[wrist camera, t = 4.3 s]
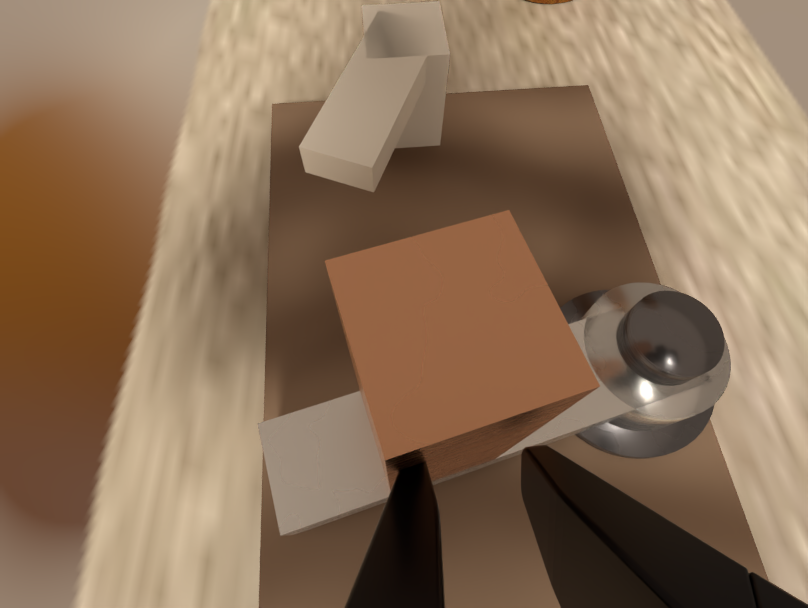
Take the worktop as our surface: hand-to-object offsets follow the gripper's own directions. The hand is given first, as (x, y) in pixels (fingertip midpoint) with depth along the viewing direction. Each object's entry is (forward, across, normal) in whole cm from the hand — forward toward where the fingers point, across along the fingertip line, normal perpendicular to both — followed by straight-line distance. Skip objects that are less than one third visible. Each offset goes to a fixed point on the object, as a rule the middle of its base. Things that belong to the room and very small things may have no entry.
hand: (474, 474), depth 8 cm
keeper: (+15, 0, -4) cm, 15 cm away
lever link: (+7, -2, +3) cm, 8 cm away
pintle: (+8, -7, +3) cm, 11 cm away
